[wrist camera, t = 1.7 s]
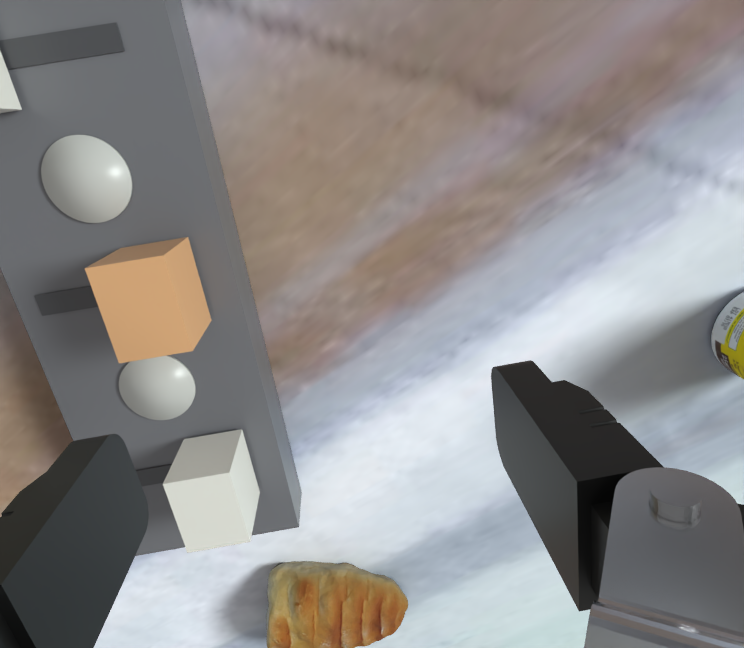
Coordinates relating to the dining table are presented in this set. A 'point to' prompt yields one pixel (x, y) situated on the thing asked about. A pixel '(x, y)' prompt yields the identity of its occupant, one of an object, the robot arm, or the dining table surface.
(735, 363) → the supplement bottle
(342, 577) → the pastry
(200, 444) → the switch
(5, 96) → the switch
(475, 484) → the dining table surface
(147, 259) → the switch middle
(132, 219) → the power strip
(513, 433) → the robot arm
